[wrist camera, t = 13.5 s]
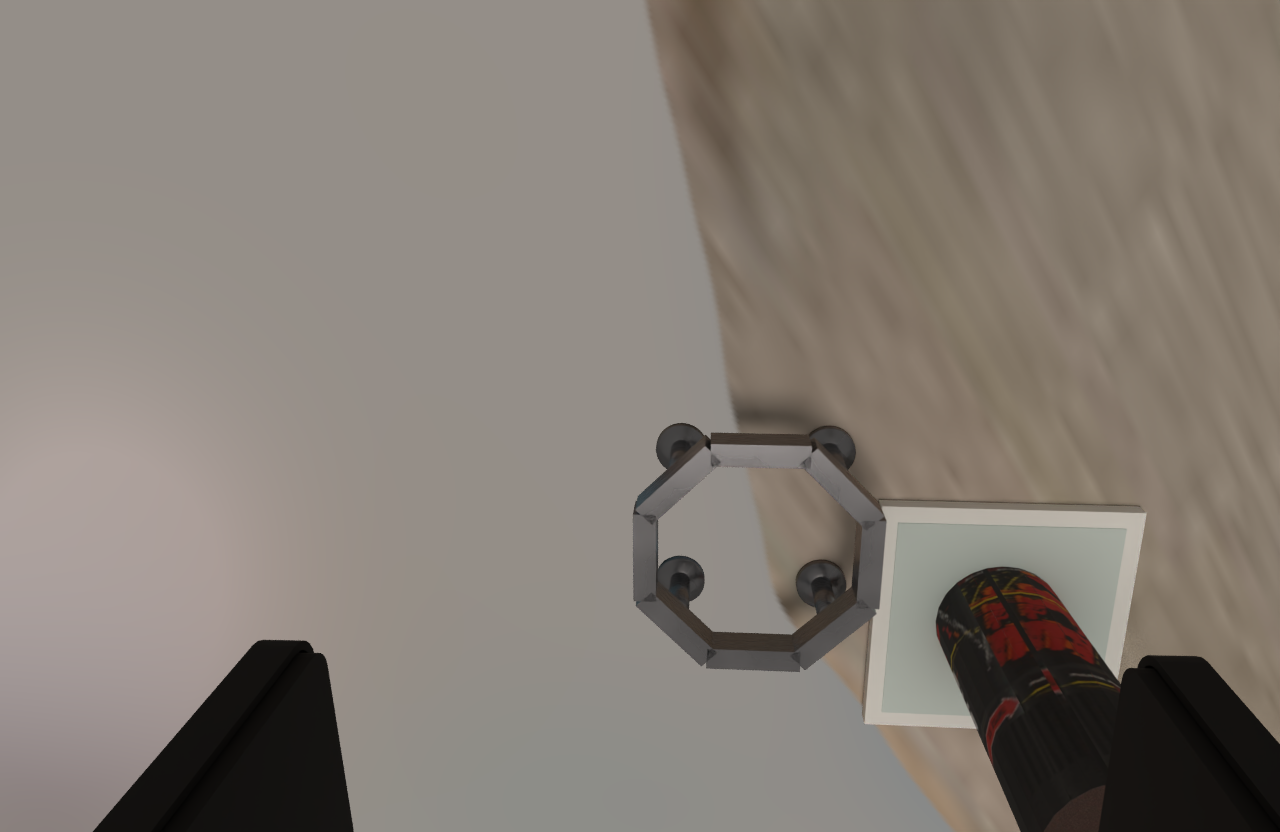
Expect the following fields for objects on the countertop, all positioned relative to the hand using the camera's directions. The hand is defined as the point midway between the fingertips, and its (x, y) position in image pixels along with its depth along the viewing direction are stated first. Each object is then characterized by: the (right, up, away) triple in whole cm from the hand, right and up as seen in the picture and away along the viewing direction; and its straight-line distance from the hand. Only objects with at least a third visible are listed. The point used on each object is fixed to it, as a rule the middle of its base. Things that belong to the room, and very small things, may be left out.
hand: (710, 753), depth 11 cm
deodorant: (+16, -6, +34) cm, 39 cm away
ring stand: (+5, -1, +34) cm, 35 cm away
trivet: (+17, -6, +35) cm, 39 cm away
